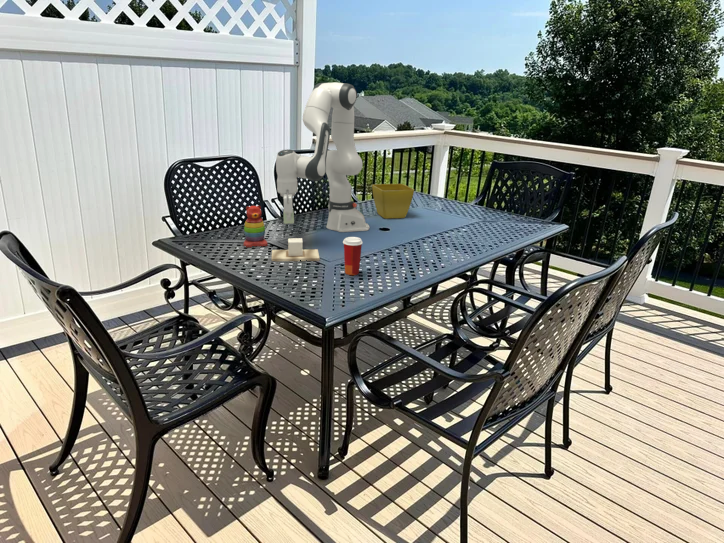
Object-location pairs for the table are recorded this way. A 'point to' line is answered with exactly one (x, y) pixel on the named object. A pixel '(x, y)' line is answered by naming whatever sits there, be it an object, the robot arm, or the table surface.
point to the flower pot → (392, 199)
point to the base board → (283, 256)
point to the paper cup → (352, 255)
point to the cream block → (295, 247)
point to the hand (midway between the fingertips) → (288, 218)
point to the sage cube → (288, 220)
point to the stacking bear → (254, 228)
